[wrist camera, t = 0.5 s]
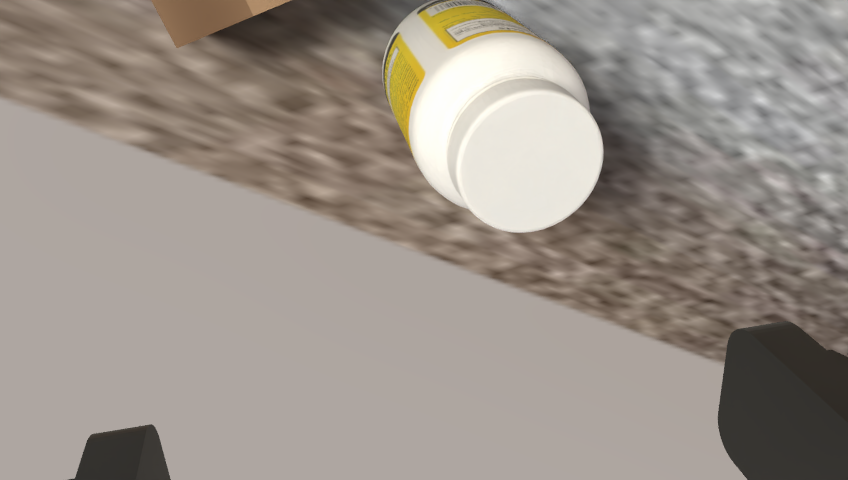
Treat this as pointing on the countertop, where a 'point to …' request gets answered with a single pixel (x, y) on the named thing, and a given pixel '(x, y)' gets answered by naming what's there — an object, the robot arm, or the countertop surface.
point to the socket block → (206, 16)
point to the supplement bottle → (492, 114)
